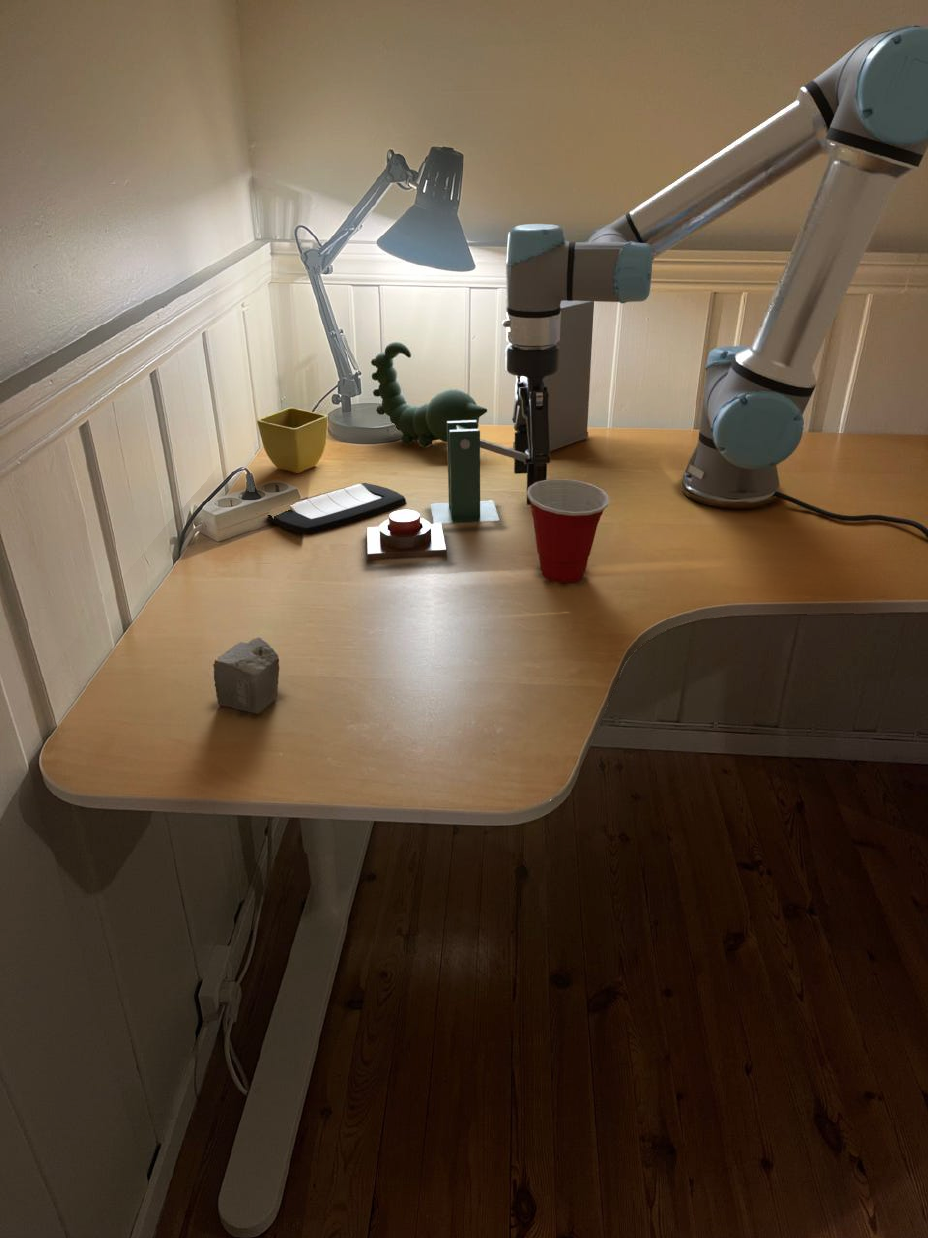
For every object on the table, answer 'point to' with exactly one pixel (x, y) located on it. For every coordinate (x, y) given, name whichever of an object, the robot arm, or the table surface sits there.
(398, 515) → the button
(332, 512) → the light switch
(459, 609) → the table surface
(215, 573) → the table surface
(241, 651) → the mineral specimen
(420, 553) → the button block
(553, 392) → the tall grey upright slab
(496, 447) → the switch lever
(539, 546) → the plastic cup
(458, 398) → the toy figurine
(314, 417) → the flower pot
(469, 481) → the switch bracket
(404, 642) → the table surface
